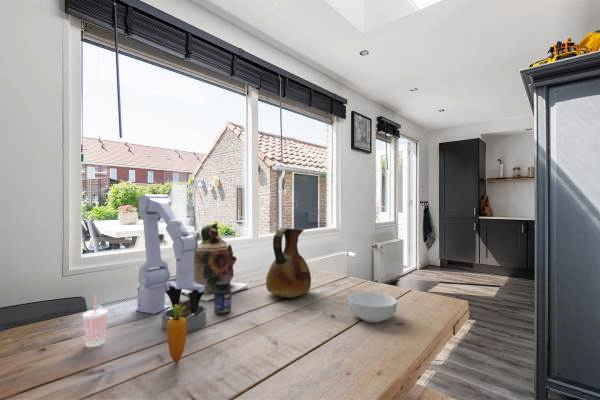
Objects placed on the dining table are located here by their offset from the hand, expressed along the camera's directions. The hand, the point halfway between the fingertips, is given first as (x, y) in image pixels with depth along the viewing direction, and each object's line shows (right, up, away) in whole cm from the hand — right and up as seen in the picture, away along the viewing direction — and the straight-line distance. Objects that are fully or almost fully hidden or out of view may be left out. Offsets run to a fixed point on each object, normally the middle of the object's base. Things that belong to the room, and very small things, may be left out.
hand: (185, 310), depth 102 cm
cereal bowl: (+65, -5, +4) cm, 65 cm away
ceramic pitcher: (+34, -5, +31) cm, 46 cm away
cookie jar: (-2, -5, +38) cm, 38 cm away
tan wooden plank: (0, -3, 0) cm, 3 cm away
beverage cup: (-20, -4, -15) cm, 26 cm away
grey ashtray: (0, -4, 0) cm, 4 cm away
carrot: (+8, -4, -25) cm, 27 cm away
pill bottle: (+10, -4, +10) cm, 15 cm away
